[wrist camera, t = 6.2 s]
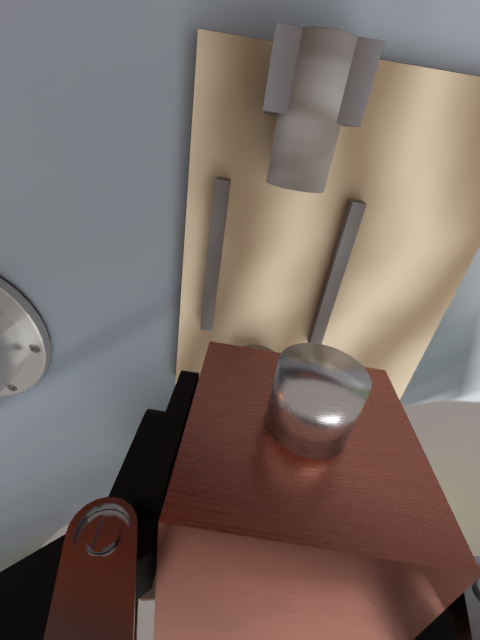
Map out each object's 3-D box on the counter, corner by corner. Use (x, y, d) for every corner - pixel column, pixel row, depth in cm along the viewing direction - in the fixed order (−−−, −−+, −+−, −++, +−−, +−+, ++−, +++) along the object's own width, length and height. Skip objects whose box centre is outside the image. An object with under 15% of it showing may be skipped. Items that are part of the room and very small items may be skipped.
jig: (178, 376, 29) (161, 422, 25) (202, 34, 18) (178, 2, 13) (384, 410, 29) (405, 461, 25) (542, 92, 18) (636, 80, 13)
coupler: (192, 483, 13) (152, 666, 8) (215, 293, 9) (161, 458, 4) (323, 504, 13) (350, 698, 8) (406, 325, 9) (540, 520, 4)
